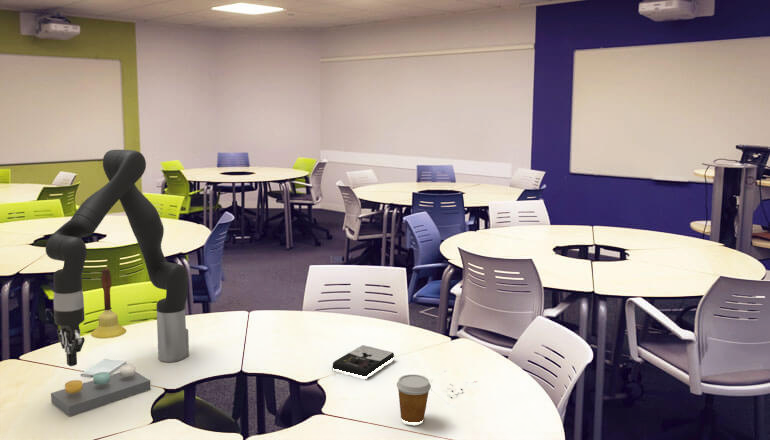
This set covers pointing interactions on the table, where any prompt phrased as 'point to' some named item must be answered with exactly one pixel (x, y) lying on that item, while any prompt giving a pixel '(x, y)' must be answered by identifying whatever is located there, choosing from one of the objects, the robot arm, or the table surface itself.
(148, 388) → the console
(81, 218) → the robot arm
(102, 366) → the hard drive
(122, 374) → the offwhite button
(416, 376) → the disposable coffee cup
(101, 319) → the handbell
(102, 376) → the teal button
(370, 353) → the black and grey book
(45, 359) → the table surface
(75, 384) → the amber button
